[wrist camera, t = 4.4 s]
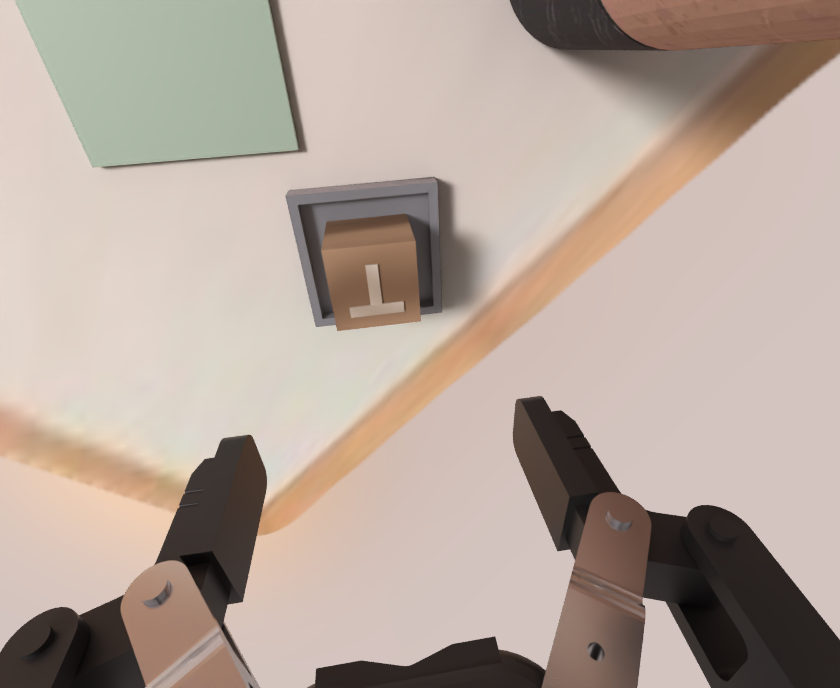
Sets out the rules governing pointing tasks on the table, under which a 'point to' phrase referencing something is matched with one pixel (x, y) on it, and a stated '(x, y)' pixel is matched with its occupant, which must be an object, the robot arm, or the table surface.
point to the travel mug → (676, 23)
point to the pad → (165, 77)
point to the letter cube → (371, 271)
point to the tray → (364, 202)
